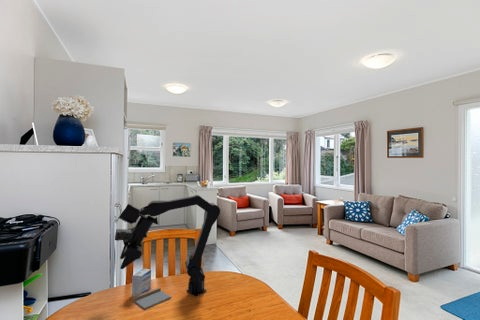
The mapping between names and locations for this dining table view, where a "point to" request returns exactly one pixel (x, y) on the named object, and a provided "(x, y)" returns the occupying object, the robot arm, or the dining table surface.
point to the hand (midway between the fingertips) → (121, 263)
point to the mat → (151, 298)
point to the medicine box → (141, 282)
